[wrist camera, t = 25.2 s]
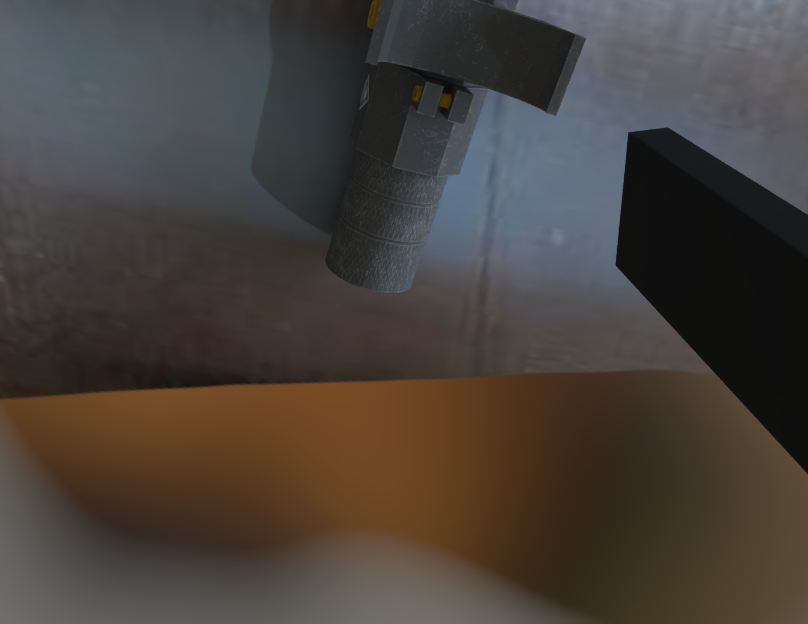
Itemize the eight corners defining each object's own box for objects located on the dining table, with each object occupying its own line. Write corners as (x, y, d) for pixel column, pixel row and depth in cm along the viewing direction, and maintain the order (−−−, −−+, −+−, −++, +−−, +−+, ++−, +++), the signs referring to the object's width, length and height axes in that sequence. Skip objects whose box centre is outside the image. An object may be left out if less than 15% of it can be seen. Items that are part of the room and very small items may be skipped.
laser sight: (289, 235, 48) (298, 311, 39) (387, -163, 38) (428, -177, 30) (431, 263, 51) (469, 340, 42) (556, -99, 41) (637, -96, 33)
